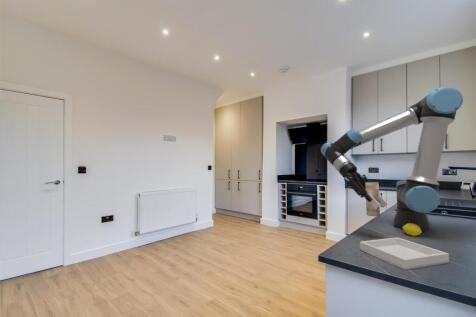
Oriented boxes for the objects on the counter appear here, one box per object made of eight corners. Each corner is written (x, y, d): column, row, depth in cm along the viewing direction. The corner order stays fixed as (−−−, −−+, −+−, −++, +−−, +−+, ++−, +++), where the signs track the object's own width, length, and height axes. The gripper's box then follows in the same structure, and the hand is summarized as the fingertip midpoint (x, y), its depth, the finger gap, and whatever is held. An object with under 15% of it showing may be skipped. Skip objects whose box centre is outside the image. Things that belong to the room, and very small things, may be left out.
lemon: (421, 236, 107) (423, 224, 107) (420, 239, 103) (422, 227, 103) (402, 231, 112) (404, 220, 111) (400, 234, 108) (402, 222, 107)
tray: (398, 245, 95) (397, 237, 95) (449, 263, 77) (448, 253, 78) (359, 249, 90) (359, 241, 90) (405, 270, 73) (404, 260, 73)
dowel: (373, 213, 108) (371, 182, 108) (382, 215, 103) (381, 182, 103) (364, 214, 106) (362, 182, 107) (373, 216, 102) (371, 183, 102)
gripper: (352, 172, 123) (387, 209, 108) (328, 173, 114) (363, 214, 99) (361, 161, 119) (399, 198, 104) (337, 161, 109) (375, 202, 95)
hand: (381, 206), depth 102 cm, fingers closed on dowel, 5 cm apart
